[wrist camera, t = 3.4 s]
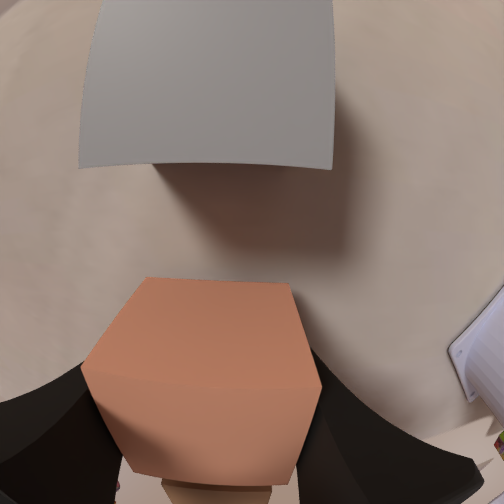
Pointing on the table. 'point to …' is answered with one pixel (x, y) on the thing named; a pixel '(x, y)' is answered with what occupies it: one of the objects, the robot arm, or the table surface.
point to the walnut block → (215, 493)
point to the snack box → (500, 445)
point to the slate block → (210, 83)
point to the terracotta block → (207, 381)
